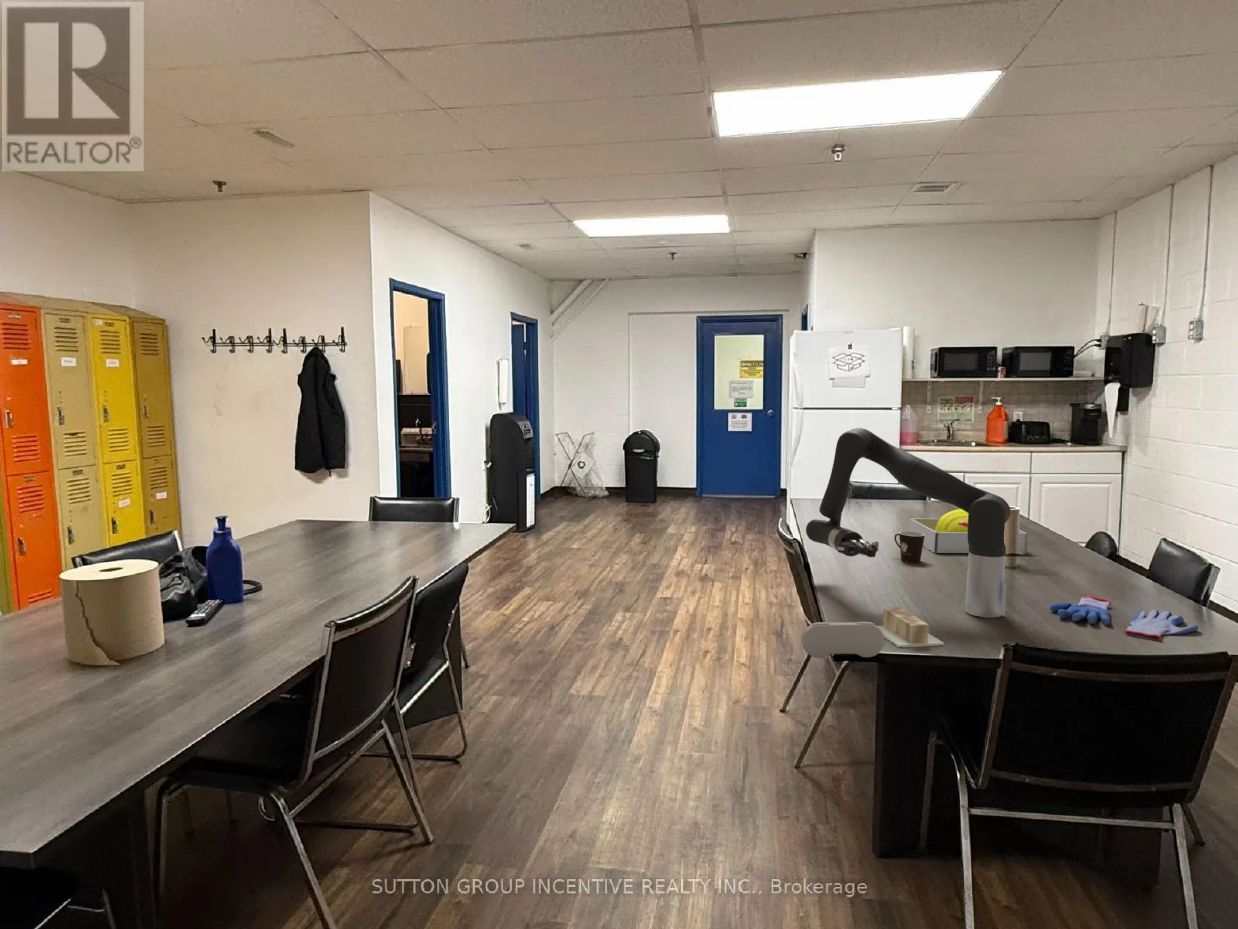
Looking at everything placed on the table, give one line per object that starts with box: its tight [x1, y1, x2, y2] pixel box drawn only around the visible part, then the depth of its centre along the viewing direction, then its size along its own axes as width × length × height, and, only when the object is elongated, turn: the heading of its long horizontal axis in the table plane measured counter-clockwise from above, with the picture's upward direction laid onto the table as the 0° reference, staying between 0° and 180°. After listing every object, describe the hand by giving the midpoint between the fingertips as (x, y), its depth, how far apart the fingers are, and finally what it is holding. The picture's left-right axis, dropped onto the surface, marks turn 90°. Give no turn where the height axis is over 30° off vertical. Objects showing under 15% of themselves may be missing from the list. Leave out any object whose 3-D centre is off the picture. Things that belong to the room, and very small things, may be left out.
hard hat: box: [934, 508, 969, 532], centre depth 288 cm, size 20×26×15 cm
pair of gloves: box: [1049, 594, 1199, 642], centre depth 201 cm, size 32×26×4 cm
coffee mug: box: [894, 530, 925, 563], centre depth 268 cm, size 12×9×10 cm
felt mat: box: [876, 625, 945, 648], centre depth 189 cm, size 14×12×1 cm
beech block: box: [882, 607, 930, 643], centre depth 189 cm, size 4×4×14 cm
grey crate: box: [907, 517, 1029, 554], centre depth 291 cm, size 34×28×8 cm
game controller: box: [800, 621, 886, 659], centre depth 175 cm, size 20×2×8 cm, turn 92°
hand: (872, 553), depth 206 cm, fingers closed
